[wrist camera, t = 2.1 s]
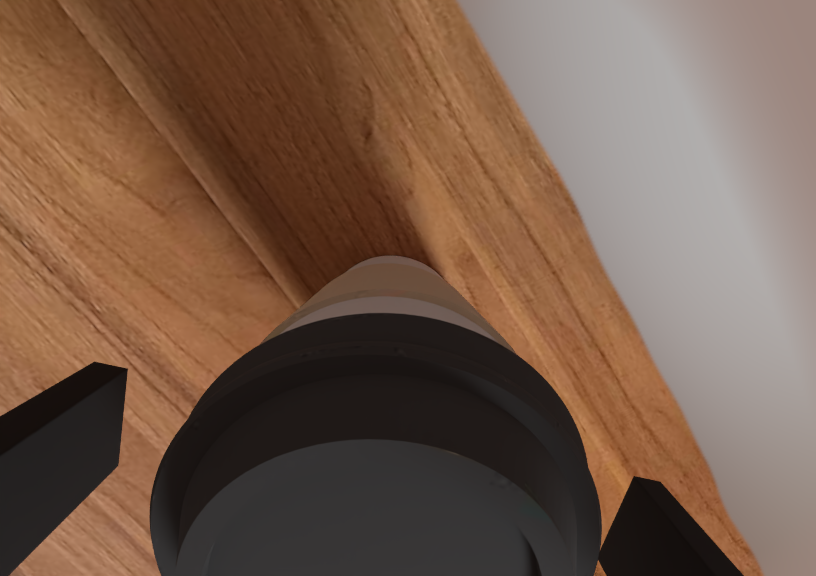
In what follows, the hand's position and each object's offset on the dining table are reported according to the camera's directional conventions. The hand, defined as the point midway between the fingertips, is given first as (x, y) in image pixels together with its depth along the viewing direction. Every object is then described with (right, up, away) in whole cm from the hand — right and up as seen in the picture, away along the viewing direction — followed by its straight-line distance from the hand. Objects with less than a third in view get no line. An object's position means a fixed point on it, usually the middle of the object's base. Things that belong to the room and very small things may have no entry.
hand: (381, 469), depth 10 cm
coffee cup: (0, +3, +11) cm, 11 cm away
